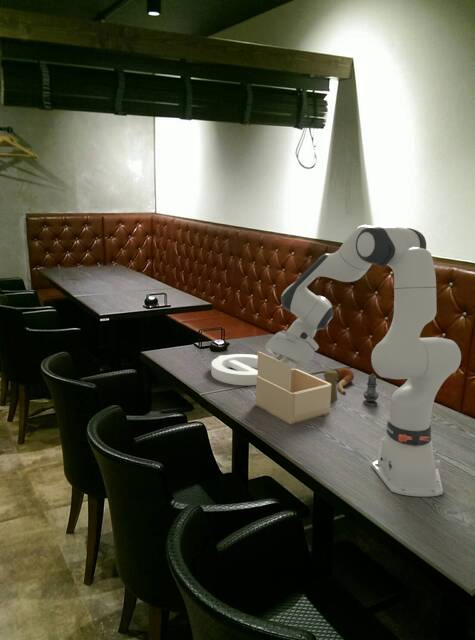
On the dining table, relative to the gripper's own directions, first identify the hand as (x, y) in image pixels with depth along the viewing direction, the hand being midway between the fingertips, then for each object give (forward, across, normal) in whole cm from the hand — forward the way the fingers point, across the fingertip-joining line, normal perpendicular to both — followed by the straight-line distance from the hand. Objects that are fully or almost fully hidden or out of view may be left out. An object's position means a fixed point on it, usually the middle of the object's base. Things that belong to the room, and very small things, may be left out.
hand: (275, 367), depth 195 cm
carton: (+7, 0, +18) cm, 19 cm away
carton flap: (+4, 0, +4) cm, 6 cm away
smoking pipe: (-17, -8, +43) cm, 47 cm away
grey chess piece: (-14, +10, +40) cm, 43 cm away
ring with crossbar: (+2, -41, +23) cm, 47 cm away
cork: (-7, -1, +32) cm, 33 cm away
